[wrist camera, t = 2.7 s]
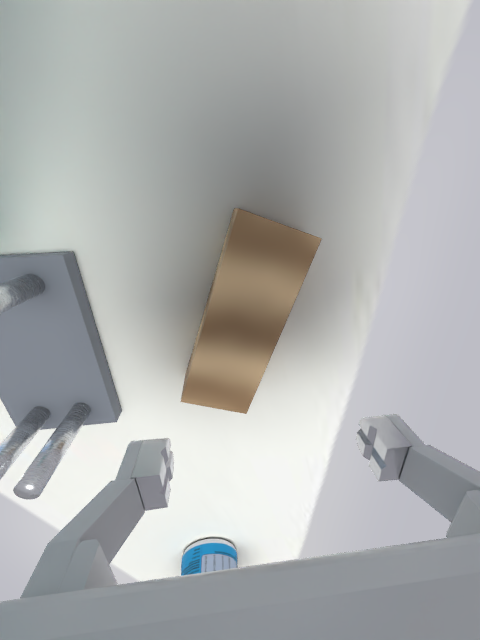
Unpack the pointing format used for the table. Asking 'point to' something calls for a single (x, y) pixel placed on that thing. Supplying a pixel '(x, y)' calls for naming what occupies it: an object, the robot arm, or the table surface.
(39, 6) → the table surface
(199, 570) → the beverage bottle
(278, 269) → the brown wooden block
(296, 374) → the table surface
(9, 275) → the peg rack
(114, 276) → the table surface
